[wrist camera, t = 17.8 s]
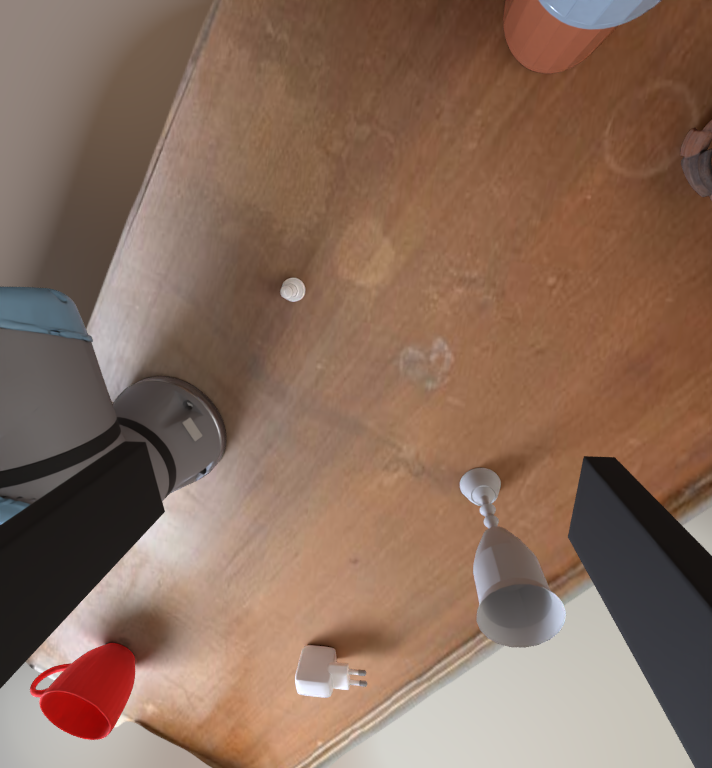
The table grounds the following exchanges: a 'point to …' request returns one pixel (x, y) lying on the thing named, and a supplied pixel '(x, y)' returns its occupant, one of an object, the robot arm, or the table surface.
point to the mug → (547, 38)
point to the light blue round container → (597, 11)
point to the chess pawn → (293, 289)
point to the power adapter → (323, 672)
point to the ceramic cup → (89, 691)
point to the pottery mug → (698, 160)
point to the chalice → (508, 576)
